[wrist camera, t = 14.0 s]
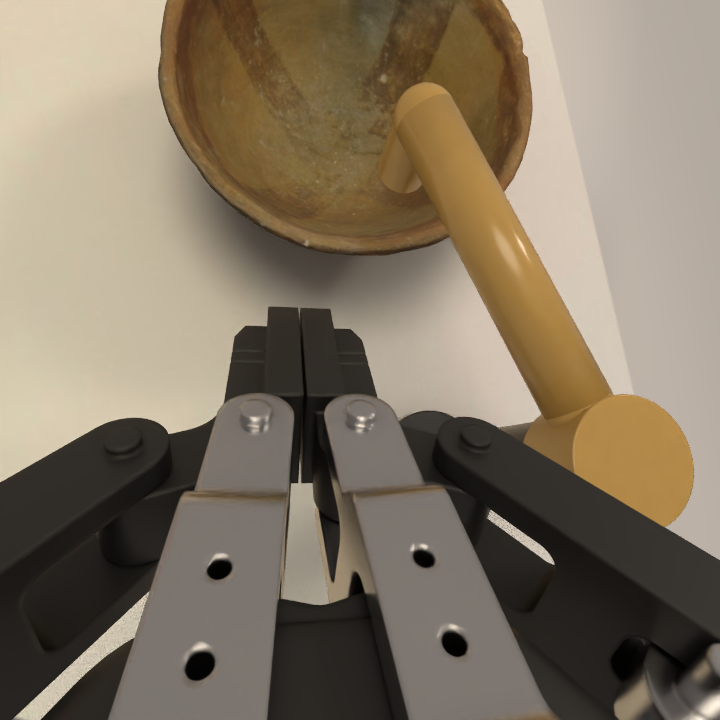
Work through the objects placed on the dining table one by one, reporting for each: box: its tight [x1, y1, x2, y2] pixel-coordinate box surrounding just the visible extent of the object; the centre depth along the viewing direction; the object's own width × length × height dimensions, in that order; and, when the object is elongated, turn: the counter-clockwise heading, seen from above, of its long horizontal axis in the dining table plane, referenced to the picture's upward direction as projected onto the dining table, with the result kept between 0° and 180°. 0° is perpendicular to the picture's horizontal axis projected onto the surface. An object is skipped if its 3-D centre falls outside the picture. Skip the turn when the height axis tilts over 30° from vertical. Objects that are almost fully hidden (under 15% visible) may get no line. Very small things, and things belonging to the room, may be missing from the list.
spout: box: [378, 82, 694, 527], centre depth 17 cm, size 16×4×4 cm, turn 26°
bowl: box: [158, 0, 532, 255], centre depth 32 cm, size 22×23×10 cm
